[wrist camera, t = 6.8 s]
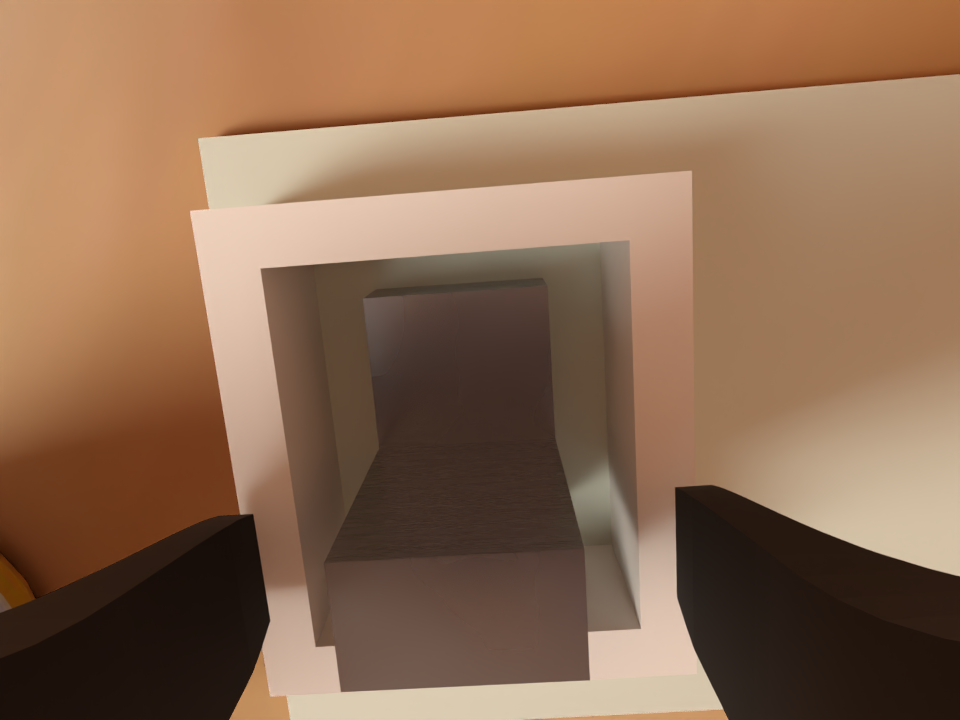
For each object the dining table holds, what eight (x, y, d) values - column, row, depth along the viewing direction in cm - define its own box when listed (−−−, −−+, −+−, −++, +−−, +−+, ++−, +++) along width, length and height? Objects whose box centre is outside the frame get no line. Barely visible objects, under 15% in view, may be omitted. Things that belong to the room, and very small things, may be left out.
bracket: (553, 500, 15) (589, 680, 10) (399, 509, 15) (340, 692, 10) (542, 277, 14) (574, 326, 8) (376, 289, 14) (294, 344, 9)
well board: (1024, 676, 17) (1174, 809, 13) (299, 713, 17) (246, 850, 14) (1089, 67, 14) (1309, 14, 10) (210, 141, 14) (111, 118, 11)
